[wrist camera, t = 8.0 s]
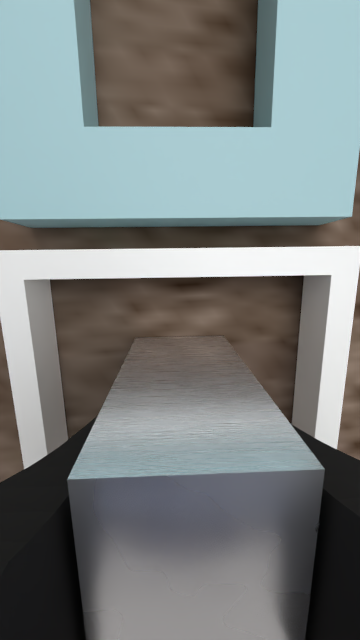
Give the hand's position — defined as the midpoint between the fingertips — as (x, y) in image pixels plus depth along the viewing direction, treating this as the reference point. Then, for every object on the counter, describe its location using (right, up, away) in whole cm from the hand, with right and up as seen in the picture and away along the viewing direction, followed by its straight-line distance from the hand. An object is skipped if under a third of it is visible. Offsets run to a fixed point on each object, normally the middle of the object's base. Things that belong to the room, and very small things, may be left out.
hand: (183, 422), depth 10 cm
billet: (0, 0, +2) cm, 2 cm away
